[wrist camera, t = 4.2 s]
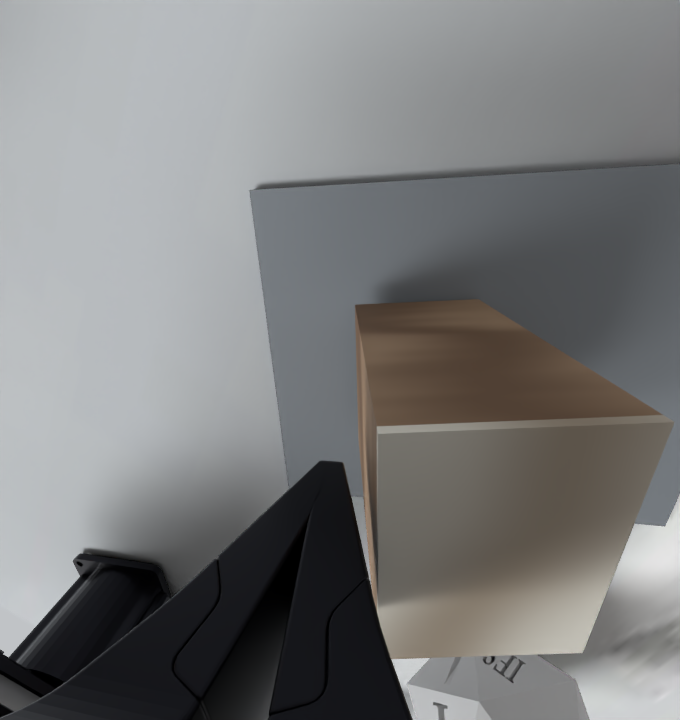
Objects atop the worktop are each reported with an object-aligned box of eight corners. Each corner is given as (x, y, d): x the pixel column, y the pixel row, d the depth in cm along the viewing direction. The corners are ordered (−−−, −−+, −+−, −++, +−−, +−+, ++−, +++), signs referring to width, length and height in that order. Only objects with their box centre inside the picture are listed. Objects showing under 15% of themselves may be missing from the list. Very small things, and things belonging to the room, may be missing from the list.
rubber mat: (290, 485, 18) (288, 489, 18) (252, 190, 13) (249, 190, 12) (660, 520, 15) (665, 526, 15) (819, 155, 10) (831, 154, 9)
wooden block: (358, 440, 15) (378, 659, 8) (354, 304, 13) (377, 433, 5) (462, 436, 15) (582, 653, 8) (478, 299, 13) (674, 421, 5)
